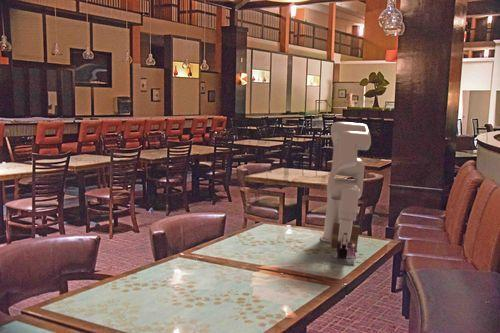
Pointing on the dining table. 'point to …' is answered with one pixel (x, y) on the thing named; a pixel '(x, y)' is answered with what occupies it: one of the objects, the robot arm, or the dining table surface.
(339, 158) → the robot arm
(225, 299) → the dining table surface
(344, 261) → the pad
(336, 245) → the pink radish toy
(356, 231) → the screen
